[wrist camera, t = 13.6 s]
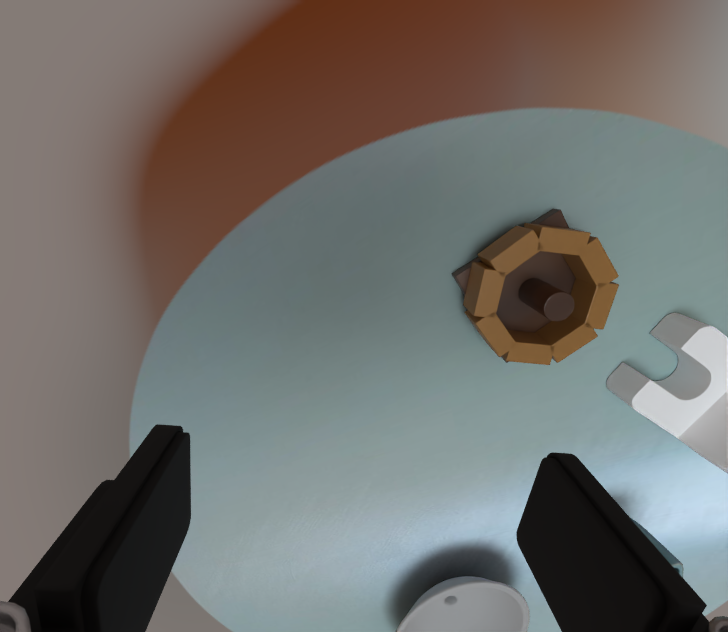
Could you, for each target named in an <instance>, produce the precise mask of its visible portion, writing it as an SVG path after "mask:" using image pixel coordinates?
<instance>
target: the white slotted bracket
mask: <svg viewBox="0 0 728 632" xmlns="http://www.w3.org/2000/svg"><path fill="white" fill-rule="evenodd" d="M650 334H651V335H653V336H654V337H655V338H657V339H658V340H659V341H661V342H662V343H663V344H665V345H666V346H668V347H669V348H670V349H672V350H673V351H674V352H675V353H676V354H677V356H678V366H677V368H676V370H675V371H674V372H673V374H671V375H670V376H669V377H668V378H666V379H664V380H661V381H652V380H650V379H649V378H647V377H646V376H644V375H642V374H641V373H639V372H638V371H636V370H635V369H633V368H632V367H630V366H628V365H627V364H625V363H624V362H622V363H621V364H620V366H619V367H618V368H617V369H616V370H615V371H614V372H613V373H612V374H611V375H610V376H609V378H608V380H607V383H606V384H607V388H608V389H609V390H610V391H611V392H613V393H614V394H615V395H616V396H618V397H619V398H620V399H622V400H623V401H624V402H625V403H627V404H628V405H629V406H631V407H632V408H633V409H635V410H636V411H637V412H639V413H640V414H642V415H643V416H645V417H646V418H648V419H649V420H651V421H652V422H654V423H656V424H657V425H659V426H660V427H662V428H663V429H665V430H666V431H668V432H669V433H671V434H672V435H674V436H675V437H677V438H678V439H679V440H681V441H682V442H683V443H685V444H686V445H687V446H689V447H690V448H691V449H693V450H694V451H695V452H696V453H698V454H699V455H701V456H702V457H704V458H705V459H707V460H708V461H710V462H711V463H713V464H714V465H716V466H717V467H719V468H720V469H722V470H723V471H725V472H726V473H728V337H726V336H725V335H724V334H723V333H721V332H720V331H719V330H718V329H716V328H715V327H713V326H710V325H707V324H705V323H702V322H700V321H697V320H694V319H692V318H689V317H687V316H684V315H682V314H679V313H671V314H668V315H667V316H665V317H664V318H663V319H662V320H661V321H660V323H659V324H658V325H657V326H656V327H655V328H654V329H653V330H652V331H651V332H650Z"/></svg>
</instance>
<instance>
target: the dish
mask: <svg viewBox="0 0 728 632" xmlns="http://www.w3.org/2000/svg"><path fill="white" fill-rule="evenodd" d="M529 620H530V613H529V608H528V605H527V602H526V600H525V599H524V597H523V596H522V595H521V594H520V593H519V592H518V591H517V590H516V589H514V588H513V587H511V586H509V585H507V584H504V583H500V582H496V581H491V580H488V579H485V578H480V577H474V576H462V577H455V578H451V579H448V580H445V581H443V582H441V583H439V584H437V585H435V586H433V587H432V588H430V589H429V590H428V591H427V592H425V593H424V594H423V595H422V596H421V597H420V598H419V599H418V600H417V601H416V603H415V604H414V605H413V606H412V608H411V609H410V611H409V612H408V614H407V615H406V616H405V618H404V619H403V620H402V622H401V623H400V625H399V626H398V628H397V630H396V632H527V629H528V626H529Z"/></svg>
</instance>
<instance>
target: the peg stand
mask: <svg viewBox="0 0 728 632" xmlns="http://www.w3.org/2000/svg"><path fill="white" fill-rule="evenodd" d="M530 224H538V225H545V226H553V227H561V228H569V227H568V225H567V222H566V220H565V218H564V216H563V214H562V212H561V210H559V209H552V210H551V211H549V212H547V213H546V214H544V215H543V216H541V217H540V218H538V219H537V220H535V221H533V222H532V223H530ZM472 262H481V263H483V262H482V261H481V259H480V258H479V257H477V258H476V259H474V260H472V261H471V262H469V263H468V264H466V265H465V266H463V267H461V268H460V269H458V270H457V271H455V272H454V273H452V275H453V277H454V278H455V280H456V282H457V284H458V285H459V287H460V289H461V290H462V292H463V294H464V295H465V294H466V289H467V284H468V280H469V275H470V271H471V266H472ZM575 279H576V278H575V276H574V274H573V272H572V271H571V269H570V267H569V266H568V264H567V262H566V261H565V259H564V257H563V256H562V254H561V253H553V252H544V251H539V252H538V253H536V254H535V255H534V256H532V257H531V258H530V259H528V260H527V261H525V262H524V263H523V264H521V265H520V266H518V267H517V268H516V269H514V270H513V271H511V272H510V273H509V274H507V275H506V276H505V280H504V284H503V288H502V292H501V296H500V300H499V304H498V308H497V312H496V315H497V316H498V318H499V319H500V320H501V322H502V323H503V325H504V326H505V328H506V329H507V330H515V331H524V332H534V333H535V332H536V331H538V330H539V329H541V328H542V327H544V326H545V325H547V324H548V323H550V322H551V321H562V320H564V319H566V318H567V317H568V316H569V315H570V314H571V313H572V311H573V309H574V299H573V297H572V296H571V291H572V288H573V285H574V282H575ZM501 357H502V356H501ZM502 358H503V357H502ZM503 360H504V361H505V362H506V363H507V362H509V361H506V360H505V359H504V358H503Z"/></svg>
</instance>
